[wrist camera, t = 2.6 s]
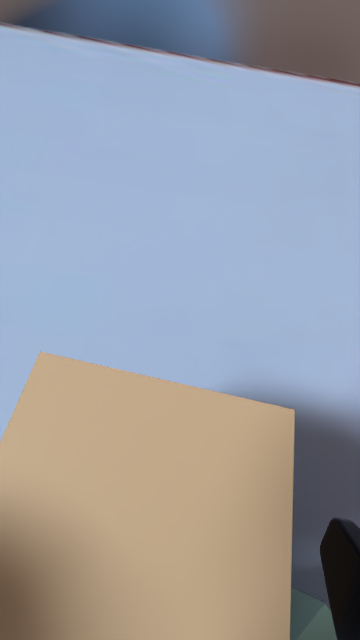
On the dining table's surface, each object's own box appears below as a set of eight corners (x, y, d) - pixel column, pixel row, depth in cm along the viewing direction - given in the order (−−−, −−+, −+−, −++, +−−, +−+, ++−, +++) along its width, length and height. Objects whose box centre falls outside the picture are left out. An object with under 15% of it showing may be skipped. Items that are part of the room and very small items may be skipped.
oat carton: (188, 583, 14) (288, 710, 5) (53, 553, 14) (-83, 630, 5) (205, 464, 16) (294, 409, 7) (90, 438, 16) (40, 351, 7)
